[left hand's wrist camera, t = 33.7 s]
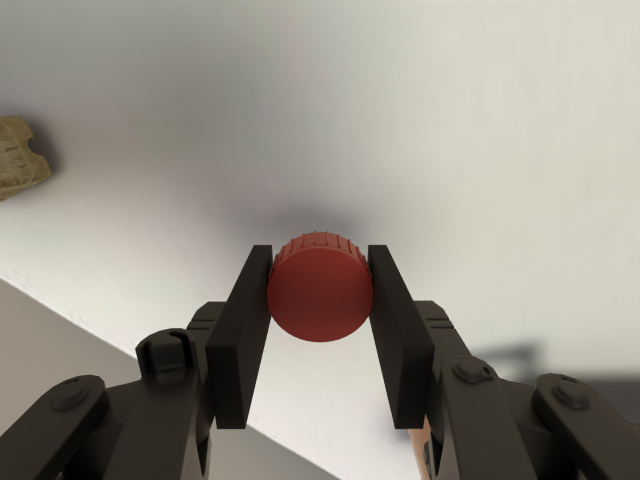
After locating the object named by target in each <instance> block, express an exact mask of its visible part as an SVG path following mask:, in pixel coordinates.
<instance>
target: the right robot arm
mask: <svg viewBox="0 0 640 480" xmlns="http://www.w3.org/2000/svg"><path fill="white" fill-rule="evenodd" d="M630 425H631V426H632V427H633V428H634V429H635V430H636V431H637V432H638V433H639V434H640V424H630ZM428 443H429V441H427V442H426V443H425V444H424V448H423V458H424V462H426V455H427V449H428ZM426 468H427V472H428V475H429V478H430V479H431V480H432V474H431V464H430V465H426Z"/></svg>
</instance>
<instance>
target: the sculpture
mask: <svg viewBox="0 0 640 480" xmlns="http://www.w3.org/2000/svg"><path fill="white" fill-rule="evenodd" d="M33 137H34V136H33V133H32V131H31V129H30V127H29V126H28V124H27V123H26V121H25V120H24V119H23V118H22V117H19V116H0V202H1V201H4V200H6V199H8V198H10V197H12V196H14V195H16V194H18V193H19V192H20V191H22V190H23V189H25V188H28V187H30V186H32V185H34V184H37V183H39V182H40V181H42V180H44V179H46V178H48V177H50V176H51V175H52V172H51V170H50V167H49V165H48V163H47V160H46V159H45V157H44V156H42V155H39V154H36V153H34V152H32V151H31V150H30V149H29V147H28V141H30V140H32V139H33Z"/></svg>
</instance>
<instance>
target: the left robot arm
mask: <svg viewBox="0 0 640 480" xmlns="http://www.w3.org/2000/svg"><path fill="white" fill-rule="evenodd" d="M272 264H273V256H272V245H254V246H253V248H252V250H251V252H250V254H249V256H248V259H247V261H246V263H245V265H244V267H243V269H242V271H241V273H240V275H239V277H238V279H237V281H236V283H235V285H234V287H233V289H232V292H231V294H230V296H229V298H228V300H227V302H207V303H206V304H205V305H203V306H202V307H201V308H199V309H198V310H197V311H196V313H195V315H194V316H193V318H192V319H191V322H190V323H189V324H188V326H187V328H186V330H185V329H182V328H170V329H166V330H161V331H158V332H156V333H153V334H151V335H149V336H148V337H146V338H145V339H143V340H142V341H141V342H140V343H139V344H138V346H137V347H136V348H135V350H136V354H137V358H138V362H139V367H140V370H141V375H142V378H141V380H138V381H134V382H131V383H127V384H123V385H119V386H114V387H110V388H106V386H105V383H104V381H103V380H102V379H101V378H100V377H99V376H94V375H83V376H77V377H74V378H71V379H68V380H65V381H63V382H61V383H59V384H57V385H56V386H54V387H52V388H51V389H50V390H48V391H47V392H46V393H45V394H43V395H42V396H41V397H40V398H39V399H38V400H37V401H36V402H35V403H34V404H33V405H32V406H31V407H30V408H29V409H28V410H27V411H26V412H25V413H24V414H23V415H22V416H21V417H20V418H19V419H18V420H17V421H16V422H15V423H14V424H13V425H12V426H11V427H10V428H9V429H8V430H7V431H6V432H5V433H4V434H3V435H2V436H1V437H0V480H208V475H209V465H210V454H211V437H210V428H211V425H212V422H213V419H214V416H215V418H216V425H217V429H245V427H246V423H247V419H248V414H249V410H250V406H251V401H252V397H253V393H254V389H255V384H256V380H257V376H258V371H259V367H260V363H261V359H262V354H263V350H264V346H265V342H266V337H267V333H268V329H269V324H270V320H271V316H272V315H271V313H270V311H269V309H268V304H267V284H268V281H269V279H268V276H269V272H270V269H271V266H272ZM367 265H368V266H369V269H370V272H371V276H372V284H373V288H374V292H373V306H372V309H371V312H370V314H369V319H370V323H371V328H372V332H373V336H374V341H375V345H376V349H377V353H378V358H379V362H380V366H381V371H382V375H383V379H384V383H385V388H386V392H387V396H388V400H389V405H390V409H391V413H392V418H393V422H394V426H395V429H423V426H424V420H425V414H426V417H427V420H428V423H429V425H430V428H431V431H430V437H429V443H428V449H427V455H426V462H425V465H430V464H431V474H432V480H640V434H639V433H638V432H637V431H636V430H635V429H634V428H633V427H632V426H631V425H630V424H629V423H628V422H627V421H626V420H625V419H624V418H623V417H622V416H621V415H620V414H619V413H618V412H617V411H616V410H615V409H614V408H613V407H611V406H610V405H609V404H608V403H607V402H606V401H605V400H604V399H603V398H602V397H601V396H600V395H599V394H598V393H597V392H596V391H594V390H593V389H592V388H590V387H589V386H588V385H586V384H584V383H582V382H580V381H578V380H576V379H574V378H571V377H568V376H565V375H561V374H552V373H550V374H545V375H541V376H540V377H539V378H538V379H537V380H536V384H535V387H532V386H528V385H524V384H519V383H515V382H511V381H507V380H504V379H501V378H499V377H498V375H497V374H496V372H495V371H494V369H493V368H492V367H491V366H489V365H488V364H487V363H486V362H484V361H482V360H480V359H478V358H476V357H473V356H472V355H471V353H470V352H469V350H468V349H467V347H466V345H465V344H464V342H463V340H462V339H461V337H460V336H459V334H458V332H457V331H456V329H454V326H453V324H452V323H451V321H449V318H448V316H447V314H446V313H445V311H444V310H443V308H441V307H440V306H439V305H437V304H436V303H434V302H433V301H413V299H412V297H411V295H410V293H409V291H408V289H407V287H406V285H405V283H404V281H403V279H402V277H401V275H400V272H399V270H398V268H397V266H396V264H395V262H394V260H393V258H392V256H391V254H390V252H389V250H388V248H387V246H386V245H368V260H367Z"/></svg>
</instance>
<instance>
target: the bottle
mask: <svg viewBox="0 0 640 480" xmlns="http://www.w3.org/2000/svg"><path fill="white" fill-rule="evenodd" d="M430 431H431V428H430V425H429V423H428V420H427V417H426V414H425V420H424V426H423V429H408V433H409V436H410V440H411V444H412V447H413V451H414V455H415V458H416V462H417V466H418V469H419V473H420V477H421V480H431V479H430V478H429V475H428V472H427V468H426V465H425V462H424V458H423V448H424V444H425V443H426V442H427V441H429V437H430Z"/></svg>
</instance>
